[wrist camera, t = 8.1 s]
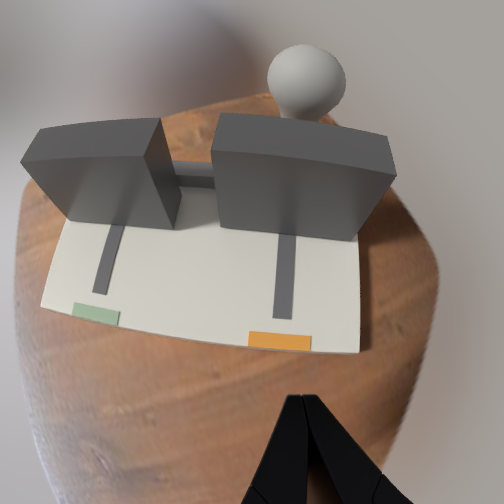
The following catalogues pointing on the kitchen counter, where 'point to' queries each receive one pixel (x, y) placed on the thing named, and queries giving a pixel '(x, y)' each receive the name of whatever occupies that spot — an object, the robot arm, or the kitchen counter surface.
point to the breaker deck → (210, 279)
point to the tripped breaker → (297, 175)
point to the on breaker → (107, 172)
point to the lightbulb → (306, 82)
